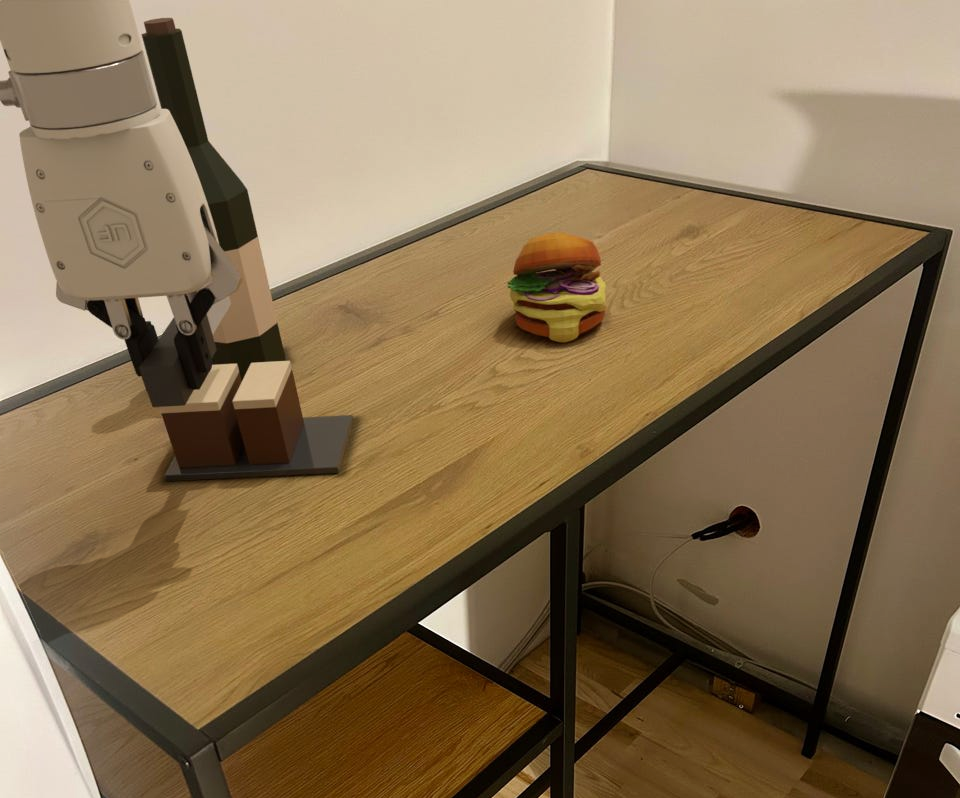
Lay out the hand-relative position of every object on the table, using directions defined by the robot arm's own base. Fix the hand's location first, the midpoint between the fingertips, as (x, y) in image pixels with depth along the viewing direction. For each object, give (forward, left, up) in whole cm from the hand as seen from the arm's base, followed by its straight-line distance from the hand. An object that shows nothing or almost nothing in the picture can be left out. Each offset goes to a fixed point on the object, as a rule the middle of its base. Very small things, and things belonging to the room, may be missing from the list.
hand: (178, 380), depth 69 cm
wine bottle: (-4, +28, -12) cm, 31 cm away
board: (+1, +11, -12) cm, 16 cm away
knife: (0, +6, 0) cm, 6 cm away
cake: (-3, +11, -11) cm, 16 cm away
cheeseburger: (+28, +34, -12) cm, 45 cm away
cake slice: (+3, +11, -11) cm, 16 cm away
